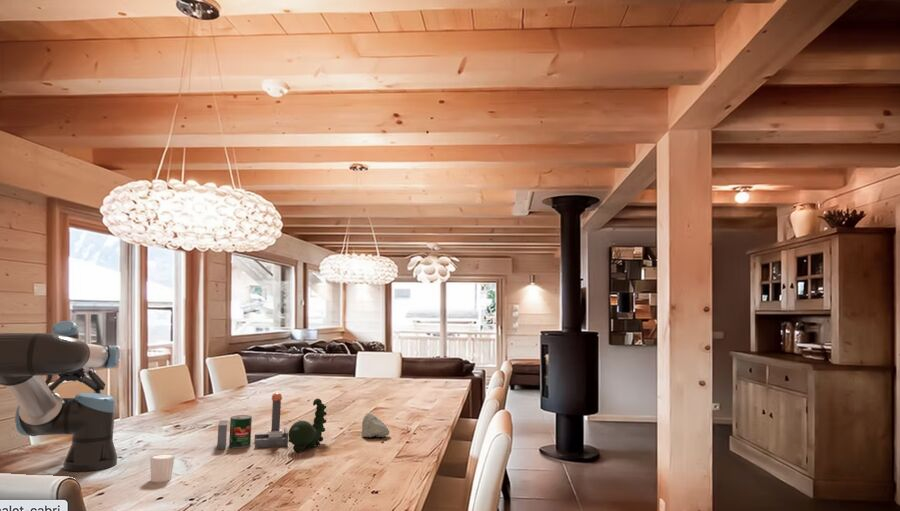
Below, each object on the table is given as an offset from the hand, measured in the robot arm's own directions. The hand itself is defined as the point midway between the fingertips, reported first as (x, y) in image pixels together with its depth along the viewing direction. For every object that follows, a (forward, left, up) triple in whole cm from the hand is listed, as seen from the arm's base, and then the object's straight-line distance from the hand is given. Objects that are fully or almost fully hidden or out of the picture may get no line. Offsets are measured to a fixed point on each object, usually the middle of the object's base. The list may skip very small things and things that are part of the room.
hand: (75, 403), depth 218 cm
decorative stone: (-9, -112, -16) cm, 114 cm away
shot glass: (-53, -36, -16) cm, 66 cm away
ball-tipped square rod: (-12, -72, -16) cm, 75 cm away
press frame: (-12, -64, -16) cm, 67 cm away
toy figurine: (-22, -83, -16) cm, 88 cm away
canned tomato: (-12, -59, -16) cm, 62 cm away
